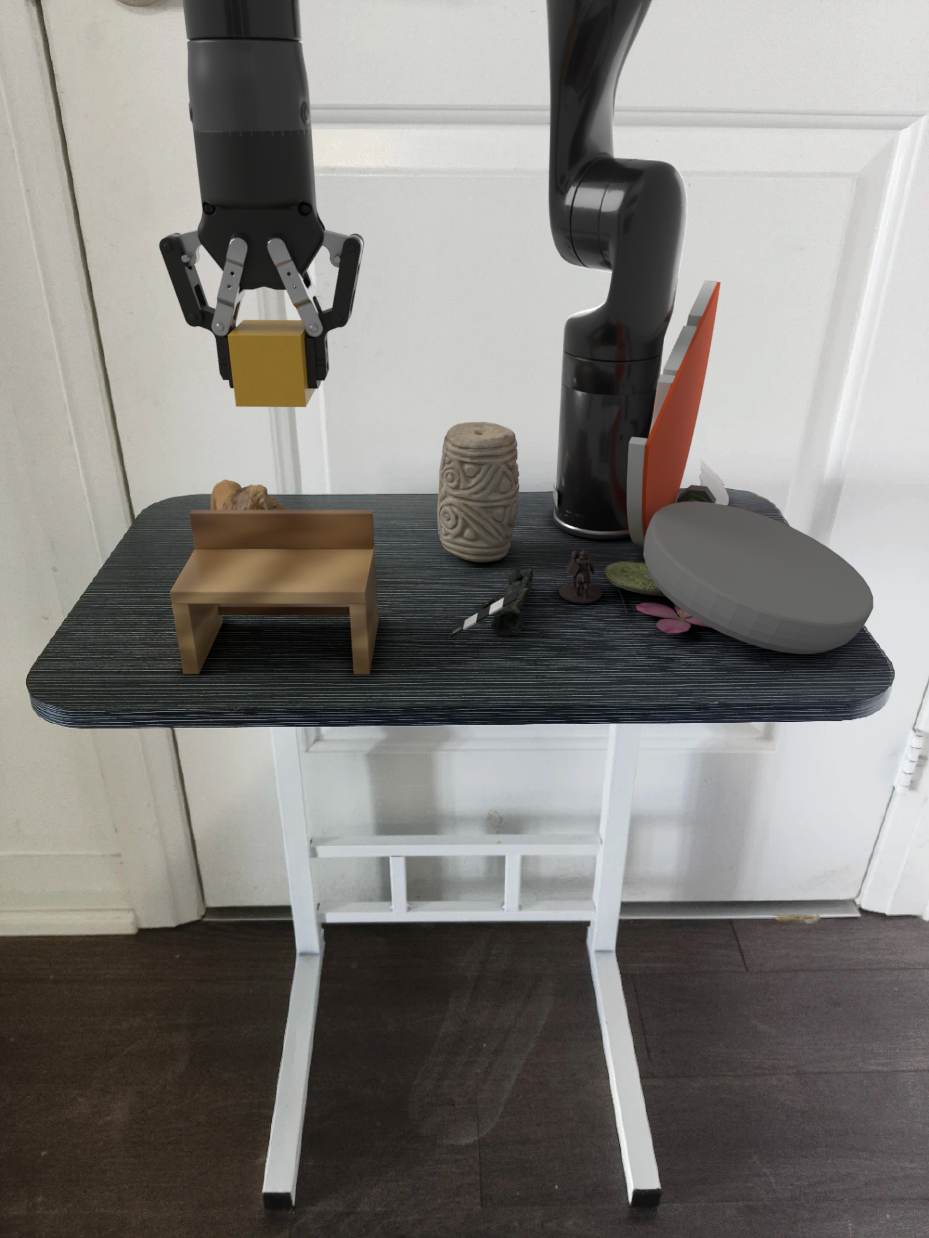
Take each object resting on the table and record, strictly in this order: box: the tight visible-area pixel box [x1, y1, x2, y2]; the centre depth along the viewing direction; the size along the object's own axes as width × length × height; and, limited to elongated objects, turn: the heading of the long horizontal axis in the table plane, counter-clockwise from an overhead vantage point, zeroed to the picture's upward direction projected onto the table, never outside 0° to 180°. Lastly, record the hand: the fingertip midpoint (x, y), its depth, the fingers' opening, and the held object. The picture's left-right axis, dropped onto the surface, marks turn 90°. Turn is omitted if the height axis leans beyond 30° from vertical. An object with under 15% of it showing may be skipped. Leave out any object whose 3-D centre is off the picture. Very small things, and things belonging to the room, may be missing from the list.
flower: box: [635, 602, 710, 634], centre depth 79 cm, size 8×8×1 cm
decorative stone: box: [642, 502, 874, 655], centre depth 78 cm, size 18×18×5 cm
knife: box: [676, 459, 730, 506], centre depth 98 cm, size 22×4×5 cm
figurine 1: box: [449, 567, 534, 638], centre depth 79 cm, size 6×4×12 cm
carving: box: [436, 421, 520, 563], centre depth 88 cm, size 6×8×12 cm
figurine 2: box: [558, 548, 629, 616], centre depth 83 cm, size 5×8×4 cm
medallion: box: [603, 560, 667, 597], centre depth 84 cm, size 8×8×1 cm
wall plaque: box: [627, 279, 721, 547], centre depth 91 cm, size 19×2×30 cm
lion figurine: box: [210, 479, 291, 510], centre depth 88 cm, size 15×5×9 cm, turn 34°
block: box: [228, 319, 316, 408], centre depth 69 cm, size 5×5×5 cm
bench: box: [169, 509, 379, 675], centre depth 73 cm, size 14×8×10 cm, turn 90°
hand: (275, 385), depth 70 cm, fingers closed on block, 5 cm apart
